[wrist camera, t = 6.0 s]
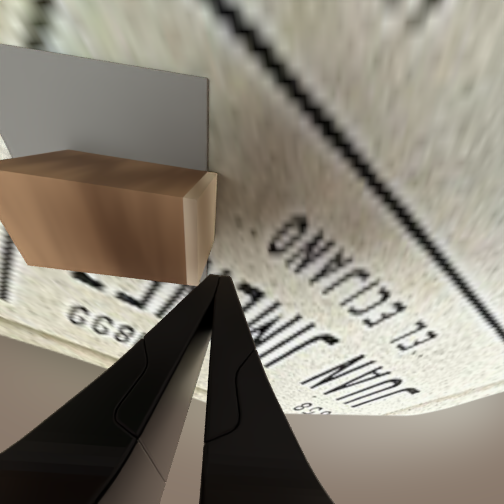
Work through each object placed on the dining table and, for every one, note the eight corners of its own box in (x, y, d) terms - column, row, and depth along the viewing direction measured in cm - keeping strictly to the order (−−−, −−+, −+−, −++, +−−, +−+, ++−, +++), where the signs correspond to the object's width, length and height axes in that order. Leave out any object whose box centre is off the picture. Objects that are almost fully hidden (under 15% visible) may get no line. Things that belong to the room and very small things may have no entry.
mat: (207, 78, 10) (206, 77, 10) (206, 280, 18) (206, 283, 18) (-41, 37, 10) (-49, 35, 9) (69, 265, 17) (66, 267, 17)
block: (197, 199, 8) (-33, 165, 8) (197, 286, 11) (27, 265, 11) (217, 173, 13) (68, 149, 12) (214, 240, 15) (92, 224, 15)
